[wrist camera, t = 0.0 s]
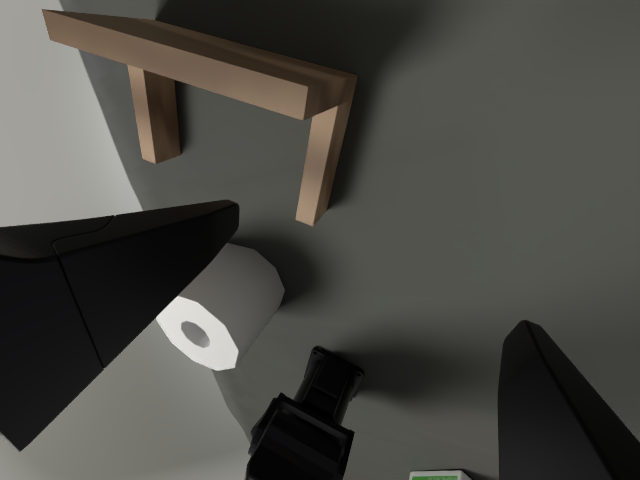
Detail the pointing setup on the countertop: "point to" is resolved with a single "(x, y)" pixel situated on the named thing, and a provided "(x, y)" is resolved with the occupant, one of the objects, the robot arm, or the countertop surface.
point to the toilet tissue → (224, 308)
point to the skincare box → (438, 475)
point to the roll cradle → (217, 87)
